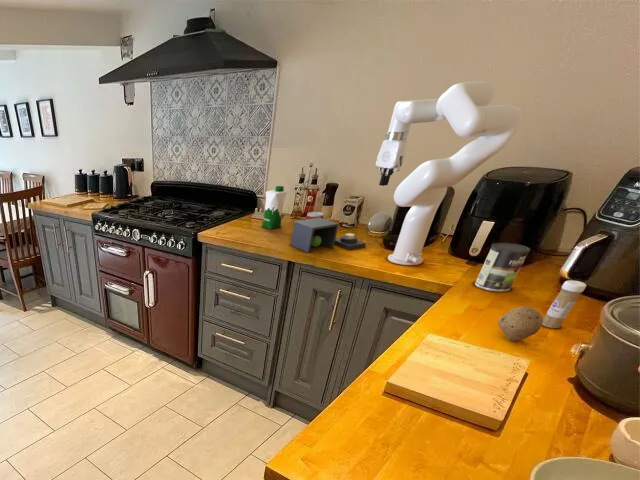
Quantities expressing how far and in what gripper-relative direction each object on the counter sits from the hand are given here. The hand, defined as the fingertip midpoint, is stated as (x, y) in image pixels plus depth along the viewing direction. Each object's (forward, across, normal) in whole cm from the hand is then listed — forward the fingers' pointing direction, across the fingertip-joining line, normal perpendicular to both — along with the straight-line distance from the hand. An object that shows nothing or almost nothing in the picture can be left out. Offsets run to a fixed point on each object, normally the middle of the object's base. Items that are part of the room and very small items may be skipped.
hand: (383, 185), depth 180 cm
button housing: (+25, -2, -10) cm, 27 cm away
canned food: (+25, -21, -15) cm, 36 cm away
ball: (+23, -7, -24) cm, 34 cm away
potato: (+25, +88, -32) cm, 97 cm away
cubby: (+25, -7, -26) cm, 37 cm away
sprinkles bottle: (+25, +86, -14) cm, 91 cm away
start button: (+22, -2, -10) cm, 24 cm away
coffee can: (+25, +59, 0) cm, 64 cm away
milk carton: (+25, -45, -22) cm, 56 cm away
